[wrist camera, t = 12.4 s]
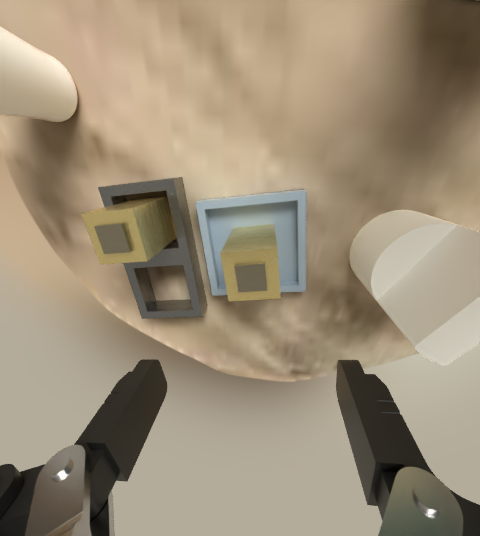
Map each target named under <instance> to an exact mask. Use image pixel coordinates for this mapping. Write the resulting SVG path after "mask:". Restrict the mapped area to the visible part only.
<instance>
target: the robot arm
mask: <svg viewBox="0 0 480 536" xmlns="http://www.w3.org/2000/svg"><path fill="white" fill-rule="evenodd" d="M477 1H480V0H477ZM336 391H337V397H338V402H339V406H340V409H341V413H342V416H343V420H344V423H345V427H346V430H347V434H348V437H349V441H350V444H351V448H352V452H353V455H354V458H355V462H356V466H357V469H358V473H359V476H360V480H361V483H362V487H363V490H364V494H365V497H366V501H367V504H368V505H374V506H378V508H379V511H380V514H381V517H382V525H381V528H380V531H379V534H378V536H480V505H478V504H476V503H473V502H471V501H469V500H466V499H464V498H462V497H461V496H459V495H457V494H456V493H454V492H453V491H451V490H450V489H449V488H447V487H446V486H445V485H444V483H442V482H441V481H440V480H439V479H438V478H437V477H436V476H435V475H434V474H433V472H432V471H431V470H430V468H429V467H428V465H427V463H426V462H425V460H424V458H423V456H422V454H421V452H420V450H419V448H418V446H417V444H416V442H415V440H414V438H413V436H412V435H411V433H410V431H409V429H408V427H407V425H406V423H405V421H404V419H403V417H402V415H400V411H399V409H398V407H397V406H396V404H395V403H394V400H393V398H392V396H391V394H390V392H389V390H388V388H387V386H386V385H385V384H384V383H383V382H382V381H381V380H380V379H379V378H378V377H377V376H376V375H374V374H365V373H364V371H363V369H362V367H361V364H360V362H359V361H358V360H338V364H337V382H336ZM166 392H167V381H166V379H165V376H164V373H163V370H162V367H161V365H160V362H159V361H158V360H141V361H139V362H138V364H137V365H136V367H135V369H134V370H133V371H132V372H128V373H127V374H126V375H125V376H124V377H123V378H122V379H120V381H118V383H117V384H116V386H115V387H114V388H113V390H112V391H111V394H109V396H108V397H107V399H106V400H105V403H104V404H103V405H102V406H101V407H100V409H99V410H98V411H97V413H96V414H95V416H94V417H93V419H92V420H91V422H90V423H89V424H88V426H87V427H86V429H85V430H84V432H83V433H82V435H81V436H80V437H79V439H78V440H77V442H76V443H75V444H74V445H71V446H69V447H66V448H64V449H62V450H61V451H59V452H58V453H56V454H55V455H54V456H53V457H52V458H51V459H50V460H49V461H48V462H47V463H46V464H45V465H41V466H38V467H35V468H31V469H28V470H25V471H22V472H19V471H18V470H17V469H16V468H15V467H14V465H12V464H5V465H1V466H0V536H115V533H114V512H113V495H112V491H111V490H112V488H113V486H114V483H115V482H116V481H128V479H129V476H130V474H131V472H132V470H133V467H134V465H135V463H136V461H137V459H138V456H139V454H140V452H141V449H142V447H143V445H144V443H145V441H146V439H147V436H148V434H149V432H150V429H151V427H152V425H153V423H154V421H155V418H156V416H157V414H158V412H159V410H160V407H161V405H162V403H163V401H164V398H165V396H166Z"/></svg>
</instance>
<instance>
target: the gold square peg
mask: <svg viewBox="0 0 480 536" xmlns="http://www.w3.org/2000/svg"><path fill="white" fill-rule="evenodd" d="M220 255H221V261H222V267H223V272H224V278H225V284H226V290H227V295H228V301H245V300H262V299H280V298H281V293H280V279H279V265H278V250H277V242H276V234H275V227H274V224H267V225H257V226H247V227H238V228H233V229H232V231H231V233H230V235H229V237H228V239H227V241H226V243H225V245H224V247H223V248H222V250H221V252H220Z"/></svg>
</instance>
